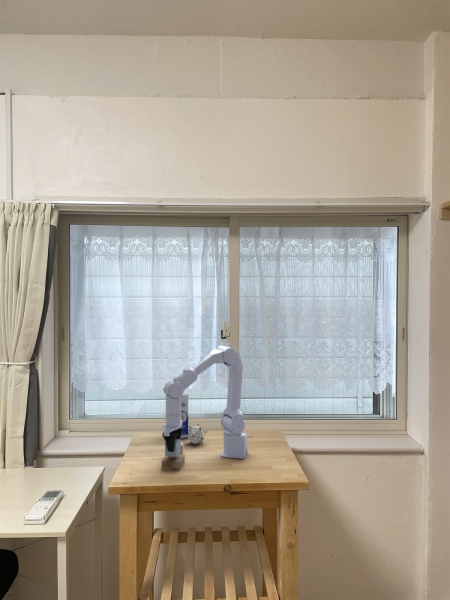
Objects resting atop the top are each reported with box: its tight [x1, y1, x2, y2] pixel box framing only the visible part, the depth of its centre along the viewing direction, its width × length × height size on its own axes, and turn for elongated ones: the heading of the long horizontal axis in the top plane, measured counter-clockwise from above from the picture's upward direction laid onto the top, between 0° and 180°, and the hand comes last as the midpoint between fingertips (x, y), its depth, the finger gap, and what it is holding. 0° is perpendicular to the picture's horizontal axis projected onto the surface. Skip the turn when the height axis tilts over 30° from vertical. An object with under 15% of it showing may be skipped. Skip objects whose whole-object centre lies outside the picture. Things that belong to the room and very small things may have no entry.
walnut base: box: [161, 454, 186, 472], centre depth 161 cm, size 7×7×4 cm
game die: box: [185, 423, 208, 447], centre depth 185 cm, size 9×8×10 cm
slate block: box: [164, 439, 181, 457], centre depth 161 cm, size 4×4×5 cm
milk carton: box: [180, 394, 189, 440], centre depth 195 cm, size 7×7×20 cm
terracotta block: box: [179, 441, 185, 455], centre depth 172 cm, size 4×4×5 cm
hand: (173, 449), depth 161 cm, fingers closed on slate block, 4 cm apart
